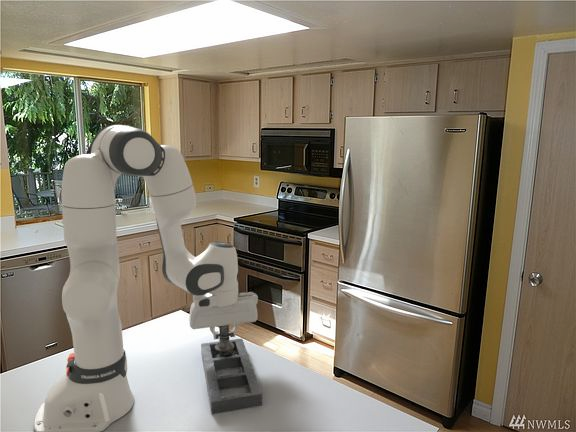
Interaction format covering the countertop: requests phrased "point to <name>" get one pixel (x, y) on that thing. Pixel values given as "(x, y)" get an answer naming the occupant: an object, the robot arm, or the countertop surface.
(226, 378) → the grey rectangular frame piece
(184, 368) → the countertop surface
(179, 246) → the robot arm
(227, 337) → the grey stone finial
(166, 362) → the countertop surface
